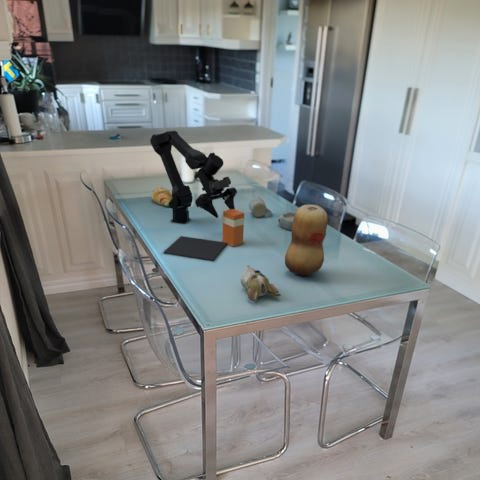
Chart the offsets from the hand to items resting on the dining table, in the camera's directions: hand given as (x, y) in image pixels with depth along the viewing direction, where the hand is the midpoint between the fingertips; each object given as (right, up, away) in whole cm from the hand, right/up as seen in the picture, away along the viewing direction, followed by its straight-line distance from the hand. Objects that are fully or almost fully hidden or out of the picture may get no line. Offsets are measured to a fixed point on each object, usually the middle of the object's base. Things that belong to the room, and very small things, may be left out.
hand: (226, 215), depth 190 cm
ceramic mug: (+15, +8, +35) cm, 39 cm away
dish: (+30, 0, +24) cm, 38 cm away
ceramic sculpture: (+11, -34, -34) cm, 50 cm away
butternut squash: (+28, -26, -19) cm, 43 cm away
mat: (-12, -14, -4) cm, 19 cm away
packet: (+3, -11, +3) cm, 11 cm away
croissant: (-34, +17, +46) cm, 59 cm away
